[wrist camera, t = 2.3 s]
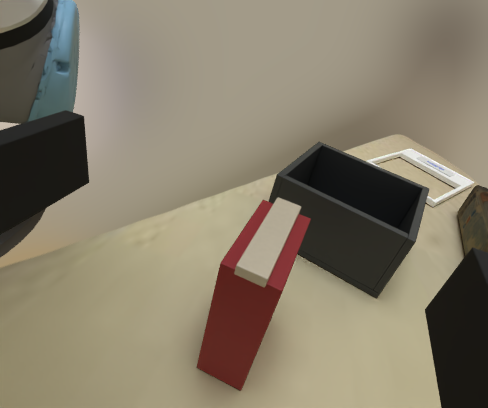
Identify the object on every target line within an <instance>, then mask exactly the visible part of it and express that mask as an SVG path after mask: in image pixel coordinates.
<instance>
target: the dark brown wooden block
mask: <svg viewBox="0 0 488 408" xmlns="http://www.w3.org/2000/svg"><path fill="white" fill-rule="evenodd" d="M458 216H459V223H460V229H461V234H462V240H463V245H464V251H465V256H466V255H467V254H468V252H469V251H470V250H471V248H472V247H473V248H476V249H479V250H482V251H485V252H487V253H488V189H487V188H485V187H481V186H479V185H477V186H475V187H474V189H473V190H472V191H471V193H470V194H469V196H468V197H467V199H466V200H465V202H464V203H463V205H462V206H461V208H460V209H459V211H458Z"/></svg>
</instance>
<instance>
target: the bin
mask: <svg viewBox="0 0 488 408" xmlns="http://www.w3.org/2000/svg"><path fill="white" fill-rule="evenodd" d="M428 192H429V188H427V187H424V186H422V185H420V184H417V183H415V182H413V181H410V180H408V179H405V178H403V177H401V176H398V175H396V174H394V173H391V172H389V171H387V170H384V169H382V168H380V167H377V166H375V165H373V164H370V163H368V162H366V161H363V160H361V159H359V158H356V157H354V156H352V155H349V154H347V153H345V152H342V151H340V150H337V149H335V148H333V147H330V146H328V145H326V144H323V143H321V142H318V143H317V144H315V145H314V146H313V147H312V148H310V149H309V150H308V151H306V152H305V153H304V154H303V155H301V156H300V157H299V158H297V159H296V160H295V161H294V162H292V163H291V164H290V165H289V166H287V167H286V168H285V169H284V170H282V171H281V172H280V173H278V174H277V176H276V179H275V183H274V186H273V189H272V193H271V196H270V199H269V202H270V203H273V204H274V202H275V201H276V199H277V198H278V197H279V198H281V199H284V200H286V201H289V202H291V203H294V204H296V205H299V206H301V210H300V212H299V214H300V215H303V216H305V217H308V218H310V219H311V220H310V223H309V225H308V228H307V230H306V233H305V235H304V238H303V240H302V243H301V246H300V248H299V251H298V253H297V254H299V255H301V256H302V257H304V258H306V259H308V260H309V261H311V262H313V263H315V264H317V265H318V266H320V267H322V268H324V269H325V270H327V271H329V272H331V273H333V274H334V275H336V276H338V277H340V278H341V279H343V280H345V281H347V282H348V283H350V284H352V285H354V286H356V287H357V288H359V289H361V290H363V291H364V292H366V293H368V294H370V295H372V296H373V297H375V298H377V297H378V296H379V294H380V293H381V291H382V290H383V289H384V287H385V286H386V284H387V283H388V281H389V280H390V278H391V277H392V275H393V274H394V273H395V271H396V270H397V268H398V267H399V265H400V264H401V262H402V261H403V260H404V258H405V257H406V255H407V254H408V252H409V251H410V249H411V248H412V246H413V245H414V244H415V242H416V238H417V235H418V231H419V227H420V223H421V219H422V215H423V211H424V208H425V204H426V200H427V196H428Z"/></svg>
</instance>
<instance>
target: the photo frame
mask: <svg viewBox="0 0 488 408" xmlns="http://www.w3.org/2000/svg"><path fill="white" fill-rule="evenodd" d="M397 157H401V158H403V159H404V160H406V161H408V162H410V163H411V164H413V165H415V166H417V167H419V168H420V169H422V170H424V171H426V172H428V173H429V174H431V175H433V176H435V177H437V178H438V179H440V180H442V181H444V182H445V183H447V184H449V185H451V186H453V187H454V188H456V189H454V190H452V191H450V192H448V193H446V194H444V195H442V196H440V197H439V198H437V199H435V200H434V199H432V198H430V197H429V196H427V200H426V203H427V204H429V205H430V206H432V207H434V206H436V205H438V204H440V203H441V202H443V201H445V200H447V199H449V198H451V197H452V196H454V195H456V194H458V193H460V192H462V191H464V190H465V189H467V188H469V187H471V186H472V185H473V184H474V182H473V181H471V180H469V179H467V178H466V177H464V176H462V175H460V174H458V173H456V172H454V171H452V170H450V169H449V168H447V167H445V166H443V165H441V164H439V163H437V162H435V161H434V160H432V159H430V158H428V157H426V156H424V155H422V154H420V153H418V152H417V151H415V150H413V149H411V148H410V149H406V150H403V151H399V152H396V153H392V154H389V155H385V156H381V157H378V158H374V159H371V160H367V161H366V162H368V163H370V164H373V165H375V166H377V165H376V164H377V163H380V162H383V161H387V160H390V159H394V158H397ZM377 167H379V166H377ZM380 168H381V167H380Z"/></svg>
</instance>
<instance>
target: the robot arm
mask: <svg viewBox="0 0 488 408" xmlns="http://www.w3.org/2000/svg"><path fill="white" fill-rule="evenodd" d="M78 60H79V13H78V8H77V5H76V4H75V2H74V1H72V0H0V122H8V123H18V124H19V125H16V126H13V127H10V128H7V129H4V130H0V235H1V234H2V233H4V232H6V231H7V230H9V229H11V228H13V227H14V226H16V225H18V224H19V223H21V222H23V221H24V220H26V219H28V218H30V217H31V216H33V215H35V214H36V213H38V212H40V211H41V210H43V209H45V208H47V207H48V206H50V205H52V204H53V203H55V202H57V201H58V200H60V199H62V198H64V197H65V196H67V195H68V194H70V193H72V192H74V191H75V190H77V189H79V188H80V187H82V186H84V185H86V184H87V183H89V175H88V162H87V150H86V137H85V124H84V116H82V115H79V114H76V113H73V109H74V103H75V97H76V87H77V76H78V75H77V74H78ZM425 313H426V319H427V324H428V330H429V336H430V342H431V348H432V354H433V360H434V366H435V372H436V377H437V383H438V389H439V395H440V401H441V407H442V408H488V253H487V252H485V251H482V250H479V249H476V248H473V247H472V248H471V250H470V251H469V252H468V254H467V255H466V256H465V258H464V259H463V260H462V261H461V263H460V264H459V265H458V267H457V268H456V269H455V271H454V272H453V273H452V275H451V276H450V277H449V279H448V280H447V281H446V283H445V284H444V285H443V287H442V288H441V289H440V291H439V292H438V293H437V295H436V296H435V297H434V299H433V300H432V301H431V302H430V304H429V305H428V306H427V308H426V309H425Z"/></svg>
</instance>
